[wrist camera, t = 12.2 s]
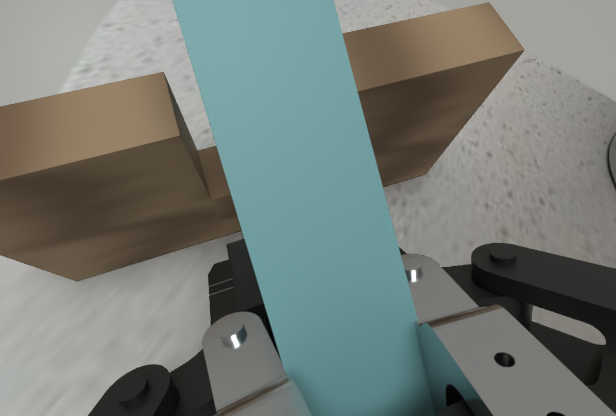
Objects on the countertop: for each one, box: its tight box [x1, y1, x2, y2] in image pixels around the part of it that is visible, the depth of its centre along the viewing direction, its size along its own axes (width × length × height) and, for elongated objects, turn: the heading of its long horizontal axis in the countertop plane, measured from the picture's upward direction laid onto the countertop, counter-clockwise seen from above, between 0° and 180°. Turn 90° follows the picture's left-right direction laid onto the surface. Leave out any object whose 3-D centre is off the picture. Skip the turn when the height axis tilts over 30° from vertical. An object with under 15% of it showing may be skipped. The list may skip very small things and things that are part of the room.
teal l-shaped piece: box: [172, 0, 435, 416], centre depth 11 cm, size 14×2×10 cm, turn 20°
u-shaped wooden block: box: [0, 2, 524, 281], centre depth 16 cm, size 20×2×10 cm, turn 110°
